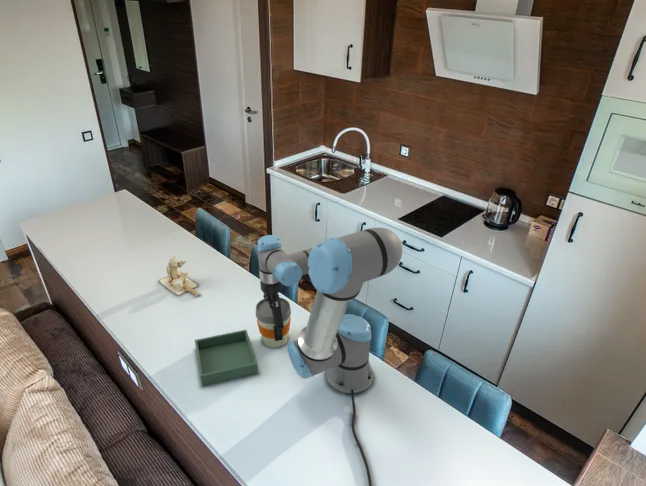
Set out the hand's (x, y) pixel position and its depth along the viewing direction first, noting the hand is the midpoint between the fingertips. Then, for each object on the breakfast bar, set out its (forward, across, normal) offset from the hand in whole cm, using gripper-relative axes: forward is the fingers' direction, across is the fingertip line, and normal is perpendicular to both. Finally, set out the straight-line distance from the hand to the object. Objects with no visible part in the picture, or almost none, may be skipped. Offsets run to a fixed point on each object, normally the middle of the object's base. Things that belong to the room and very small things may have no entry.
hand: (274, 328), depth 164 cm
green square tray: (+5, -6, +19) cm, 21 cm away
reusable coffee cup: (+5, 0, 0) cm, 5 cm away
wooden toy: (+6, +46, +30) cm, 55 cm away
